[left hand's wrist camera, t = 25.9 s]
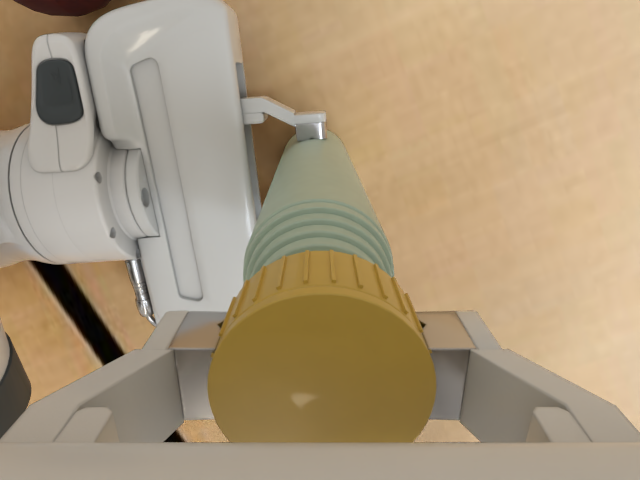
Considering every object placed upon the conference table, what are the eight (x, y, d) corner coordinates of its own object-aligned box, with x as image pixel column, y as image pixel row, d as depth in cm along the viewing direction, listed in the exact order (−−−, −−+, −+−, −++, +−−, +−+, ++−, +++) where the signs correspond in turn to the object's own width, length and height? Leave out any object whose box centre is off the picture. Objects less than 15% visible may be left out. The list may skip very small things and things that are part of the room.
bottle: (283, 125, 30) (204, 262, 8) (350, 129, 31) (453, 275, 8) (281, 190, 32) (210, 453, 10) (344, 193, 32) (417, 461, 10)
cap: (254, 220, 9) (238, 257, 7) (448, 281, 10) (480, 332, 8) (205, 384, 11) (180, 451, 9) (375, 430, 11) (387, 502, 9)
